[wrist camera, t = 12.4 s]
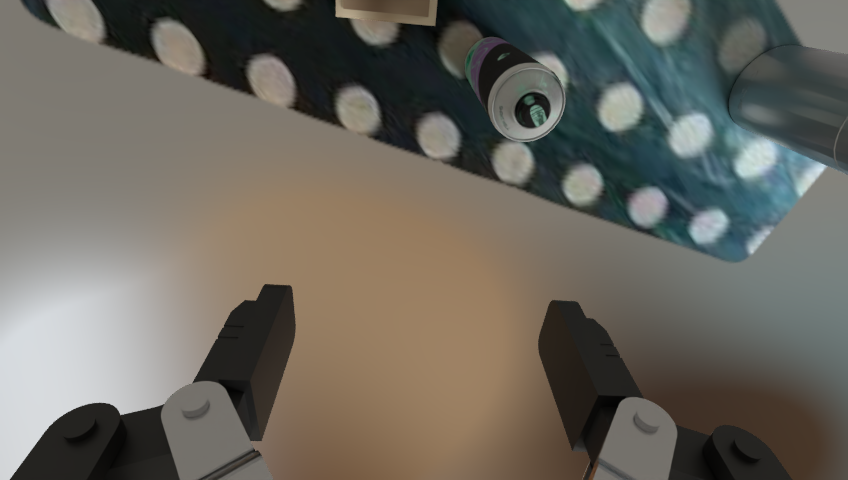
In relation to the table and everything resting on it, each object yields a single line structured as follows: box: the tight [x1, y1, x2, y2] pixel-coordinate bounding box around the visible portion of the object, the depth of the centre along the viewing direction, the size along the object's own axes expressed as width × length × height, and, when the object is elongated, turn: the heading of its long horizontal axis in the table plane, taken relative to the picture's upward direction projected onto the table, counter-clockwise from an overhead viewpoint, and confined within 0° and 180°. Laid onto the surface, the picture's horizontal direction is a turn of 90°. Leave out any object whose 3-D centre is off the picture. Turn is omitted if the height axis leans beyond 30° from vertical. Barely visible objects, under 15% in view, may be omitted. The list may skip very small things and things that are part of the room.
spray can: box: [465, 37, 565, 142], centre depth 37 cm, size 6×6×20 cm
